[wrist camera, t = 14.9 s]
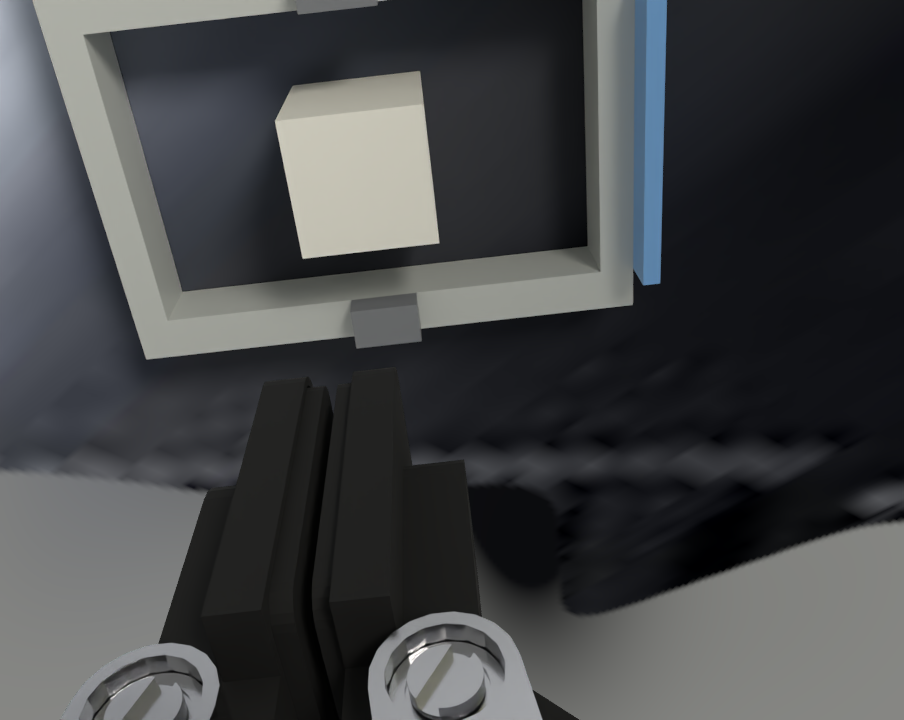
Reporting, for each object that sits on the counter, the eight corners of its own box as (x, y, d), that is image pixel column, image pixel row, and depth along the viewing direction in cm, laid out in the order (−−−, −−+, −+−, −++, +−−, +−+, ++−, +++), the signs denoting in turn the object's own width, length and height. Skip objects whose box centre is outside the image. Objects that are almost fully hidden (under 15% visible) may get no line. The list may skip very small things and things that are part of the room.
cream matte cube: (419, 70, 30) (423, 104, 26) (433, 193, 32) (439, 243, 28) (292, 85, 30) (274, 121, 26) (315, 206, 32) (302, 258, 28)
